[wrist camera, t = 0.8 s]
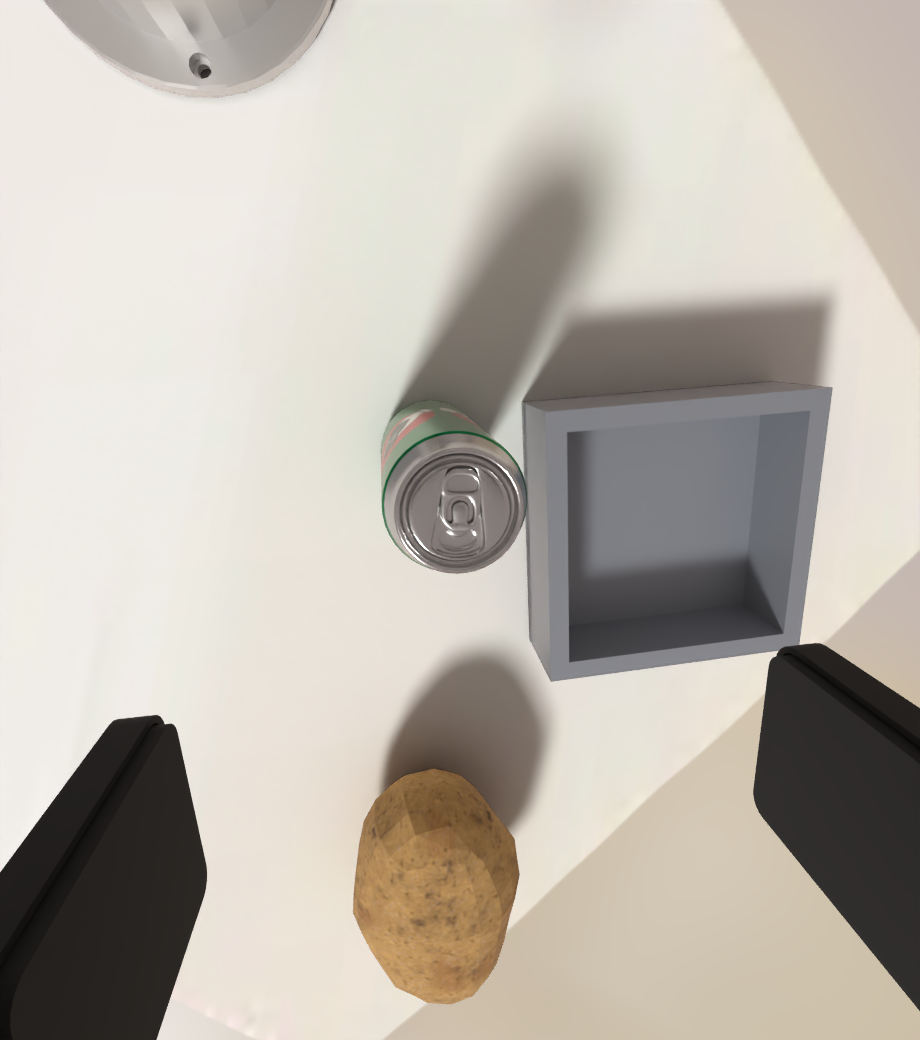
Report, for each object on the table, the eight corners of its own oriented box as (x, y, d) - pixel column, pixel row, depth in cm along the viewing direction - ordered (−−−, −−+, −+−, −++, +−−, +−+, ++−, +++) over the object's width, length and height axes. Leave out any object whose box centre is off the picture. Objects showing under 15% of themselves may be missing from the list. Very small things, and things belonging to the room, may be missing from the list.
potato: (501, 715, 36) (534, 816, 28) (504, 886, 40) (534, 1014, 32) (342, 734, 35) (331, 844, 27) (363, 908, 39) (359, 1046, 31)
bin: (521, 401, 30) (545, 411, 26) (771, 381, 31) (832, 387, 27) (529, 639, 34) (550, 681, 30) (748, 611, 36) (798, 647, 31)
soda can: (380, 494, 30) (381, 585, 19) (381, 397, 29) (382, 433, 18) (474, 495, 31) (528, 584, 20) (480, 401, 30) (542, 438, 18)
